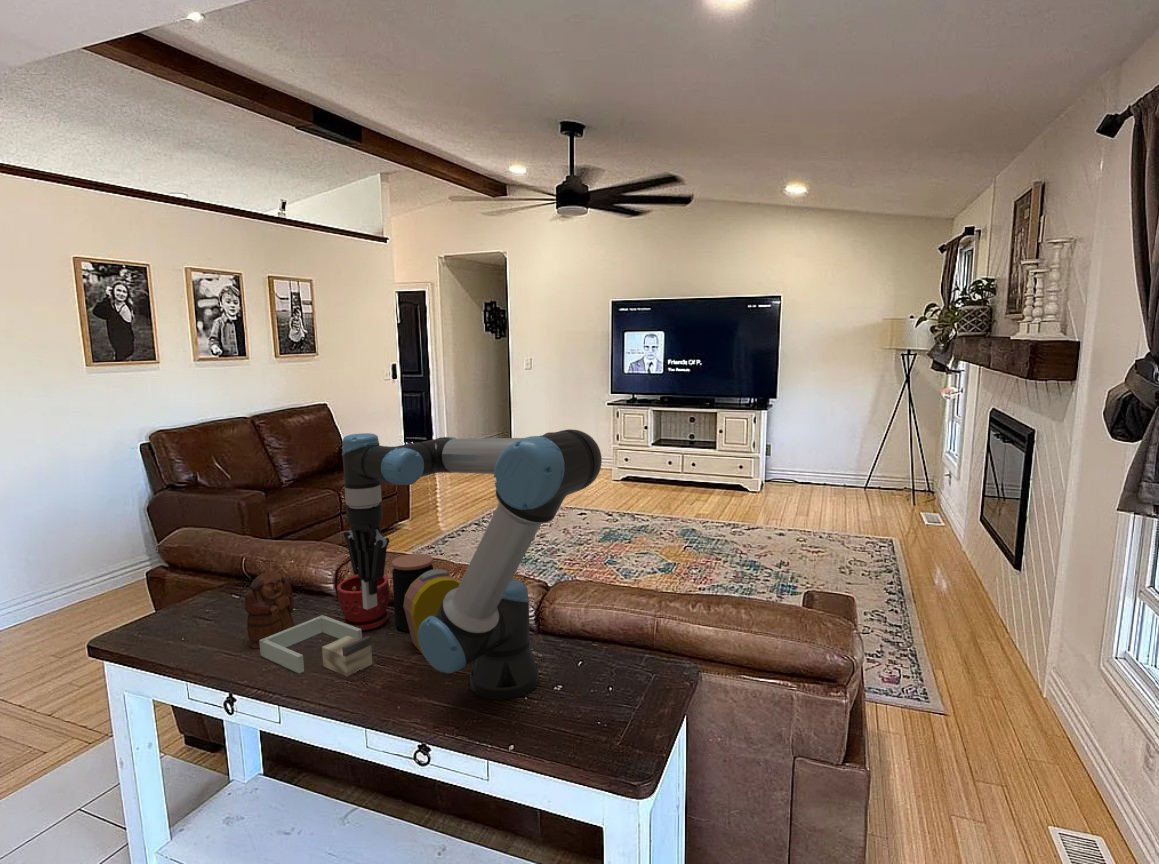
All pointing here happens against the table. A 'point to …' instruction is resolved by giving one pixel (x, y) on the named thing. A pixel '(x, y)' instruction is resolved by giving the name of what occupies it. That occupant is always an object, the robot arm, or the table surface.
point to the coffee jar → (407, 581)
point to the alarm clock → (426, 598)
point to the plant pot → (354, 603)
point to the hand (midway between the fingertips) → (370, 606)
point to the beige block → (347, 655)
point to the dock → (292, 660)
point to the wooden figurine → (268, 606)
